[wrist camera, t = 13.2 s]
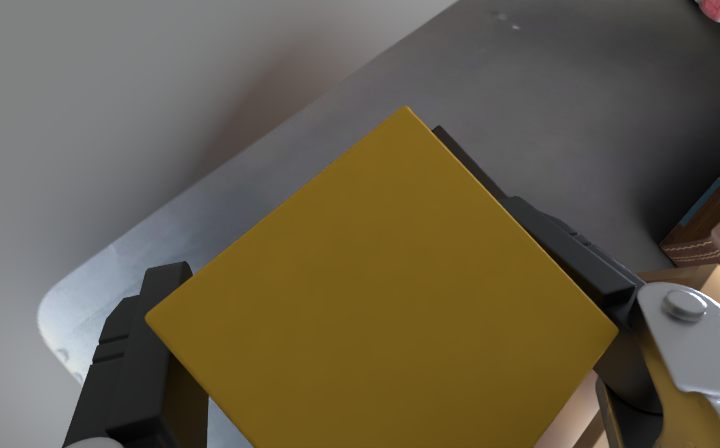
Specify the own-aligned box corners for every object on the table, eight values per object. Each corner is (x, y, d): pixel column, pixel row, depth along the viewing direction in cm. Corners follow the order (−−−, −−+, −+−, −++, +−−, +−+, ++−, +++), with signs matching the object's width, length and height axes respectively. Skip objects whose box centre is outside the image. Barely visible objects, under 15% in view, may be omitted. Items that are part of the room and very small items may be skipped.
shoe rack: (571, 547, 31) (725, 674, 20) (466, 431, 31) (560, 493, 20) (682, 375, 36) (853, 402, 25) (590, 277, 36) (718, 262, 25)
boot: (334, 431, 13) (405, 625, 5) (232, 315, 13) (138, 317, 5) (501, 252, 16) (732, 184, 7) (412, 158, 16) (541, -8, 8)
